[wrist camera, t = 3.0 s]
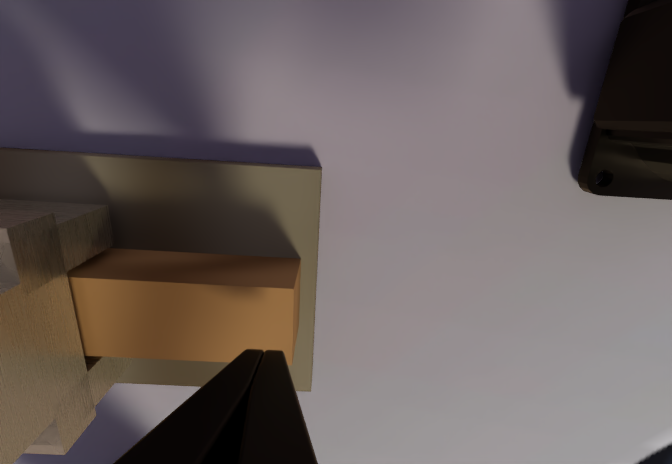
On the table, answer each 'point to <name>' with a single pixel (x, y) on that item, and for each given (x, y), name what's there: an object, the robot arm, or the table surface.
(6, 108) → the table surface
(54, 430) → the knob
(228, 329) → the rail
